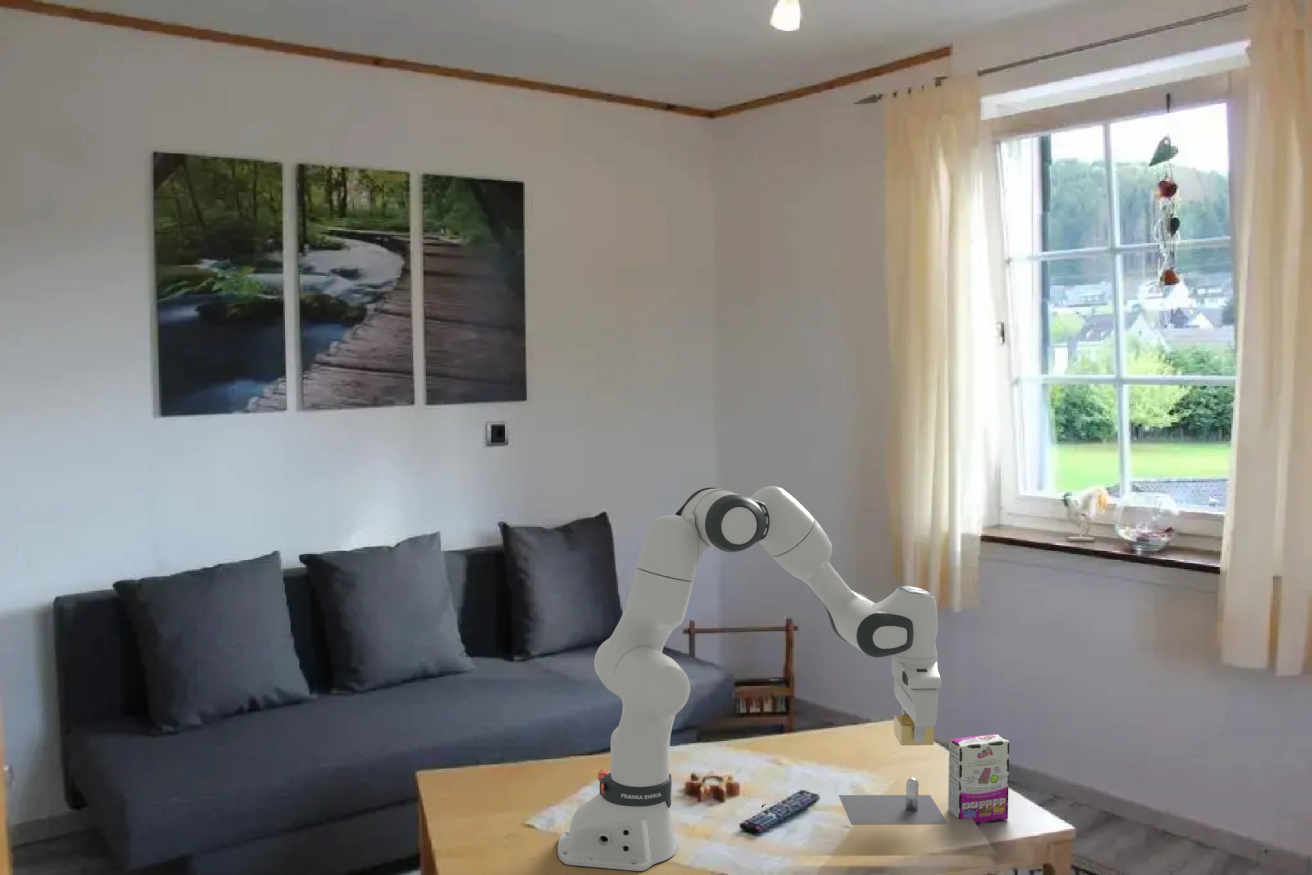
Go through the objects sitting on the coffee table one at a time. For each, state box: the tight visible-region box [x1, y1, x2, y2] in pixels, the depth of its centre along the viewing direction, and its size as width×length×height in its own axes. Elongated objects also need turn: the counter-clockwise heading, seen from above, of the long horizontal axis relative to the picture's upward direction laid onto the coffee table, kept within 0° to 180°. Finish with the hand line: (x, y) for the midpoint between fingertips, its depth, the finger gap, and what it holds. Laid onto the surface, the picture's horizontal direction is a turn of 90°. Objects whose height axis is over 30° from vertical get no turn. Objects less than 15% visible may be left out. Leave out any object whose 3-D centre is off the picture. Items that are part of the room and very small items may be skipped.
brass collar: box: [893, 714, 935, 746], centre depth 231 cm, size 6×6×4 cm
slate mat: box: [838, 794, 949, 825], centre depth 232 cm, size 19×14×2 cm
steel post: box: [905, 777, 920, 812], centre depth 232 cm, size 2×2×6 cm
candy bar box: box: [947, 733, 1010, 825], centre depth 231 cm, size 11×5×16 cm, turn 105°
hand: (913, 734), depth 231 cm, fingers closed on brass collar, 6 cm apart
